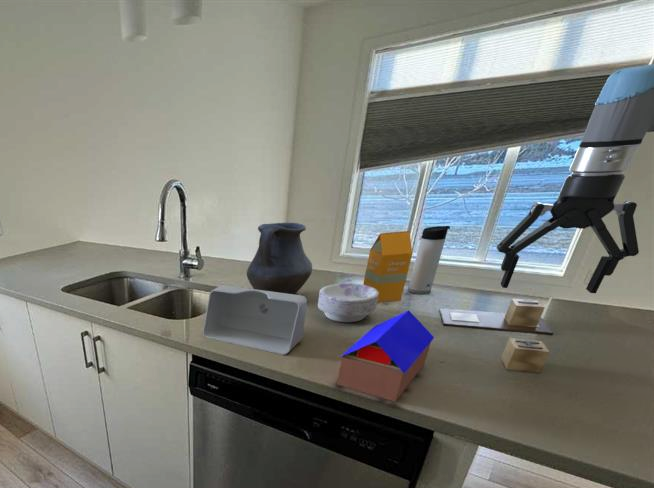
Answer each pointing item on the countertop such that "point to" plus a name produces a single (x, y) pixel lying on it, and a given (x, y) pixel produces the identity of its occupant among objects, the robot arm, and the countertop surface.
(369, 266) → the orange juice
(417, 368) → the house
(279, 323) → the gray plastic bin
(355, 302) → the paper bowls
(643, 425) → the countertop surface
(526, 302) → the wooden letter tile box
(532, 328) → the word board
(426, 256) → the travel mug
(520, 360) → the wooden letter cube
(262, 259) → the pitcher
